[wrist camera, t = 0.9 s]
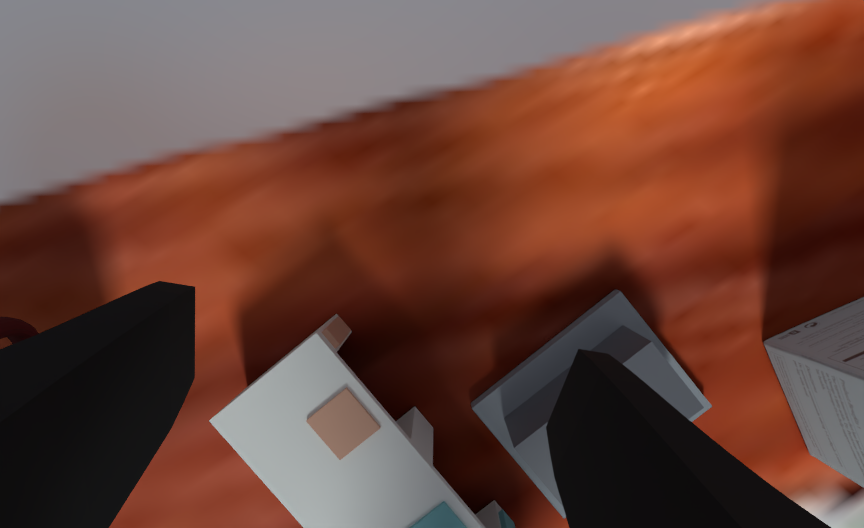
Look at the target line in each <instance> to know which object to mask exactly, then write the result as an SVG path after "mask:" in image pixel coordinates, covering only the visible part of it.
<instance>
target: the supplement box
mask: <svg viewBox="0 0 864 528" xmlns="http://www.w3.org/2000/svg"><path fill="white" fill-rule="evenodd" d="M764 346H765V348H766V350H767V353H768V355H769V358H770V360H771V363H772V365H773V368H774V370H775V372H776V375H777V377H778V379H779V382H780V384H781V386H782V389H783V391H784V394H785V396H786V398H787V401H788V403H789V405H790V408H791V410H792V413H793V415H794V417H795V420H796V422H797V424H798V427H799V429H800V432H801V434H802V436H803V439H804V441H805V443H806V446H807V448H808V451H809V453H810V455H811V456H813V457H815V458H817V459H819V460H820V461H822V462H823V463H825V464H827V465H828V466H830V467H831V468H833V469H835V470H836V471H838V472H839V473H841V474H843V475H844V476H846V477H847V478H849V479H851V480H852V481H854V482H856V483H857V484H859V485H860V486H862V487H864V297H862V298H860V299H858V300H856V301H853V302H851V303H848V304H846V305H844V306H842V307H839V308H837V309H835V310H832V311H830V312H828V313H825V314H823V315H821V316H819V317H816V318H814V319H812V320H810V321H807V322H805V323H802V324H800V325H798V326H796V327H794V328H791V329H789V330H787V331H785V332H783V333H780V334H778V335H775V336H773V337H771V338H769V339H767V340H765V341H764Z"/></svg>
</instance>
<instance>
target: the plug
mask: <svg viewBox="0 0 864 528" xmlns="http://www.w3.org/2000/svg"><path fill="white" fill-rule="evenodd" d="M590 351H595V352H601V353H607V354H609V355H611V356H612V357H614V358H615V359H616V360H618V361H619V362H620V363H622V364H623V365H624V366H625V367H627V368H628V369H629V370H630V371H632V372H633V373H634V374H635V375H637V376H638V377H639V378H640V379H641V380H643V381H644V382H645V383H646V384H647V385H648V386H650V387H651V388H652V389H653V390H654V391H655V392H657V393H658V394H659V395H660V396H661V397H663V398H664V399H665V400H666V401H667V402H668V403H670V404H671V405H672V406H673V407H674V408H675V409H677V410H678V411H679V412H680V413H681V414H682V415H684V416H685V417H686V418H687V419H690V418H691V417H692V416H694V415H695V414H696V413H698V412H699V411H700V410H702V409H703V408H704V407H703V405H702V404H701V403H700V402H699V400H698V399H697V398H696V397H695V395H694V394H693V393H692V392H691V390H690V389H689V388H688V387H687V385H686V384H685V383H684V382H683V380H682V379H681V378H680V377H679V375H678V374H677V373H676V371H675V370H674V369H673V368H672V366H671V365H670V364H669V363H668V361H667V360H666V359H665V358H664V356H663V355H662V354H661V353H660V351H659V350H658V349H657V348H656V346H655V345H654V344H653V343H652V341H650V340H648V339H646V338H645V337H643V336H641V335H639V334H638V333H636V332H634V331H632V330H631V329H629V328H627V327H625V326H624V325H622V326H621V327H620V328H618V329H617V330H616V331H615V332H613V333H612V334H611V335H610V336H608V337H607V338H606V339H604V340H603V341H602V342H601V343H599V344H598V345H597V346H595V347H594V348H593V349H592V350H590ZM571 366H572V365H571ZM571 366H570V367H569V368H567V369H566V370H565V371H563V372H562V373H561V374H560V375H558V376H557V377H556V378H554V379H553V380H552V381H551V382H549V383H548V384H547V385H546V386H544V387H543V388H542V389H540V390H539V391H538V392H537V393H535V394H534V395H533V396H531V397H530V398H529V399H528V400H526V401H525V402H524V403H522V404H521V405H520V406H519V407H517V408H516V409H515V410H513V411H512V412H511V413H510V414H508V415H507V416H506V417H505V418H504V420H505V423H506V426H507V429H508V432H509V435H510V438H511V441H512V444H513V447H514V449H515V450H516V451H517V452H518V454H519V455H520V456H521V457H522V458H523V460H524V461H525V462H526V463H527V464H528V465H529V467H530V468H531V469H532V470H533V471H534V473H535V474H536V475H537V476H538V477H539V479H540V480H541V481H542V482H543V483H544V485H545V486H546V487H547V488H548V489H549V491H550V492H551V493H552V494H553V495H554V497H555V498H556V499H557V500H558V501H559V503H560V504H561V505H562V506H563V504H562V501H561V498H560V495H559V491H558V488H557V484H556V481H555V477H554V473H553V467H552V462H551V456H550V450H549V444H548V437H547V431H546V426H547V423H548V421H549V419H550V416H551V414H552V411H553V409H554V407H555V404H556V402H557V399H558V397H559V394H560V392H561V390H562V387H563V385H564V382H565V380H566V378H567V375H568V373H569V370H570V368H571Z"/></svg>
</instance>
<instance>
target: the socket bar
mask: <svg viewBox="0 0 864 528" xmlns="http://www.w3.org/2000/svg"><path fill="white" fill-rule="evenodd" d="M351 332H352V331H351V329H350V328H349V327H348V326H347V325H346V324H345V322H344V321H343V320H342V319H341V318H340V316H338V315H337V314H335V315H334V316H333V317H332V318H331V319H329V320H328V321H327V322H326V323H324V324H323V325H322V326H321V327H320V328H318V329H317V330H316V331H315V332H313V333H312V334H311V335H310V336H309V337H307V338H306V339H305V340H304V341H303V342H301V343H300V344H299V345H298V346H296V347H295V348H294V349H293V350H292V351H290V352H289V353H288V354H287V355H285V356H284V357H283V358H282V359H281V360H279V361H278V362H277V363H276V364H275V365H273V366H272V367H271V368H270V369H268V370H267V371H266V372H265V373H264V374H262V375H261V376H260V377H259V378H257V379H256V380H255V381H254V382H253V383H251V384H250V385H249V386H248V387H247V388H245V389H244V390H243V391H242V392H241V393H240V394H239V395H238V396H236V397H235V398H234V399H233V400H232V401H231V402H230V403H229V404H227V405H226V406H225V407H224V408H223V409H222V410H221V411H220V412H218V413H217V414H216V415H215V416H214V417H213V418H212V419H211V420H209V421H210V422H211V424H212V425H213V426H214V427H215V428H216V429H217V430H218V432H219V433H220V434H221V435H222V436H223V437H224V438H225V439H226V441H227V442H228V443H229V444H230V445H231V446H232V447H233V448H234V450H235V451H236V452H237V453H238V454H239V455H240V456H241V458H242V459H243V460H244V461H245V462H246V463H247V464H248V465H249V467H250V468H251V469H252V470H253V471H254V472H255V473H256V474H257V476H258V477H259V478H260V479H261V480H262V481H263V482H264V484H265V485H266V486H267V487H268V488H269V489H270V490H271V491H272V493H273V494H274V495H275V496H276V497H277V498H278V499H279V500H280V502H281V503H282V504H283V505H284V506H285V507H286V508H287V510H288V511H289V512H290V513H291V514H292V515H293V516H294V517H295V519H296V520H297V521H298V522H299V523H300V524H301V525H302V526H303V528H515V524H514V522H513V521H512V520H511V518H510V517H509V516H508V515H507V514H506V512H505V511H504V510H503V509H502V508H501V507H500V506H499V505H498V504H497V502H496V501H495V500H493V501H492V502H491V503H490V504H488V505H487V506H486V507H484V508H483V509H482V510H480V511H479V512H478V513H477V514H474V513H473V512H472V511H471V510H470V508H469V507H468V506H467V505H466V504H465V503H464V501H463V500H462V499H461V498H460V497H459V495H458V494H457V493H456V492H455V491H454V490H453V488H452V487H451V486H450V485H449V484H448V483H447V481H446V480H445V479H444V478H443V477H442V476H441V474H440V473H439V472H438V471H437V470H436V469H435V467H434V466H433V427H432V426H431V424H430V423H429V422H428V421H427V420H426V419H425V417H424V416H423V415H422V414H421V413H420V411H419V410H418V409H417V408H416V407H413V408H412V409H411V410H410V411H408V412H407V413H406V414H404V415H403V416H402V417H401V418H399V419H398V420H397V421H396V422H395V420H394V419H393V418H392V417H391V416H390V415H389V413H388V412H387V411H386V410H385V409H384V408H383V406H382V405H381V404H380V403H379V402H378V400H377V399H376V398H375V397H374V396H373V395H372V393H371V392H370V391H369V390H368V389H367V388H366V386H365V385H364V384H363V383H362V382H361V381H360V379H359V378H358V377H357V376H356V375H355V373H354V372H353V371H352V370H351V369H350V368H349V366H348V365H347V364H346V363H345V362H344V361H343V359H342V358H341V357H340V356H339V355H338V354H337V351H338V350H339V348H340V347H341V346H342V344H343V343H344V342H345V340H346V339H347V338H348V336H349V335H350V334H351Z"/></svg>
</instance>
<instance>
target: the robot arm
mask: <svg viewBox="0 0 864 528" xmlns="http://www.w3.org/2000/svg"><path fill="white" fill-rule="evenodd" d="M194 378H195V287H193V286H187V285H180V284H174V283H168V282H162V281H158V282H156V283H153V284H150V285H148V286H145V287H143V288H140V289H138V290H136V291H133V292H131V293H129V294H127V295H124V296H122V297H120V298H118V299H116V300H113V301H111V302H109V303H107V304H105V305H102V306H100V307H98V308H96V309H94V310H91V311H89V312H87V313H85V314H82V315H80V316H78V317H76V318H73V319H71V320H69V321H67V322H65V323H62V324H60V325H58V326H56V327H53V328H51V329H49V330H47V331H44V332H42V333H40V334H37V335H35V336H32V337H30V338H27V339H25V340H22V341H20V342H18V343H15V344H13V345H10V346H8V347H5V348H3V349H0V528H109V526H110V525H111V523H112V522H113V520H114V519H115V517H116V515H117V514H118V512H119V511H120V509H121V508H122V506H123V504H124V503H125V501H126V500H127V498H128V496H129V495H130V493H131V492H132V490H133V489H134V487H135V485H136V484H137V482H138V481H139V479H140V478H141V476H142V474H143V473H144V471H145V470H146V468H147V466H148V465H149V463H150V462H151V460H152V458H153V457H154V455H155V454H156V452H157V450H158V449H159V447H160V446H161V444H162V442H163V441H164V439H165V438H166V436H167V434H168V433H169V431H170V429H171V428H172V426H173V424H174V421H175V419H176V417H177V415H178V413H179V411H180V409H181V407H182V405H183V403H184V400H185V398H186V396H187V394H188V391H189V389H190V387H191V385H192V382H193V380H194ZM546 431H547V437H548V444H549V450H550V456H551V462H552V467H553V473H554V477H555V481H556V484H557V488H558V491H559V495H560V498H561V501H562V504H563V508H564V511H565V514H566V518H567V521H568V524H569V527H570V528H831V527H829V526H828V525H826V524H825V523H824V522H822V521H821V520H819V519H818V518H816V517H815V516H814V515H812V514H811V513H809V512H808V511H806V510H805V509H803V508H802V507H801V506H799V505H798V504H796V503H795V502H793V501H792V500H790V499H789V498H788V497H786V496H785V495H784V494H782V493H781V492H779V491H778V490H777V489H775V488H774V487H773V486H771V485H770V484H769V483H767V482H766V481H765V480H763V479H762V478H761V477H759V476H758V475H757V474H756V473H754V472H753V471H752V470H750V469H749V468H748V467H747V466H745V465H744V464H743V463H741V462H740V461H739V460H738V459H736V458H735V457H734V456H732V455H731V454H730V453H729V452H727V451H726V450H725V449H724V448H722V447H721V446H720V445H719V444H717V443H716V442H715V441H714V440H712V439H711V438H710V437H709V436H708V435H706V434H705V433H704V432H703V431H702V430H700V429H699V428H698V427H697V426H696V425H694V424H693V423H692V422H691V421H690V420H688V419H687V418H686V417H685V416H684V415H682V414H681V413H680V412H679V411H678V410H677V409H675V408H674V407H673V406H672V405H671V404H670V403H668V402H667V401H666V400H665V399H664V398H663V397H661V396H660V395H659V394H658V393H657V392H655V391H654V390H653V389H652V388H651V387H650V386H648V385H647V384H646V383H645V382H644V381H643V380H641V379H640V378H639V377H638V376H637V375H635V374H634V373H633V372H632V371H630V370H629V369H628V368H627V367H625V366H624V365H623V364H622V363H620V362H619V361H618V360H616V359H615V358H614V357H612V356H611V355H609V354H607V353H601V352H595V351H589V350H583V349H578V351H577V353H576V356H575V358H574V361H573V363H572V366H571V368H570V370H569V373H568V375H567V378H566V380H565V382H564V385H563V387H562V390H561V392H560V394H559V397H558V399H557V402H556V404H555V407H554V409H553V411H552V414H551V416H550V419H549V421H548V423H547V426H546Z"/></svg>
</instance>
